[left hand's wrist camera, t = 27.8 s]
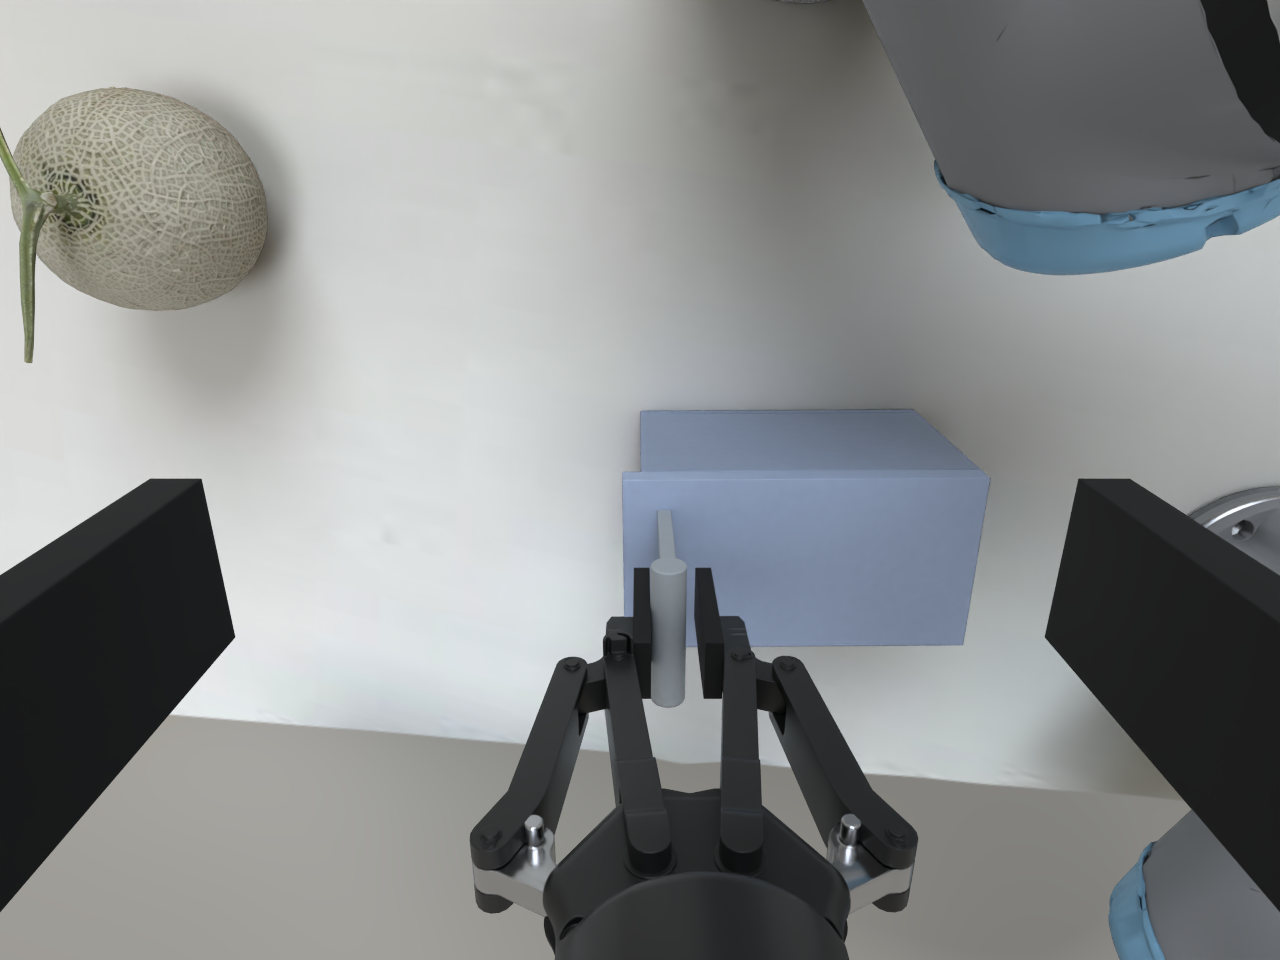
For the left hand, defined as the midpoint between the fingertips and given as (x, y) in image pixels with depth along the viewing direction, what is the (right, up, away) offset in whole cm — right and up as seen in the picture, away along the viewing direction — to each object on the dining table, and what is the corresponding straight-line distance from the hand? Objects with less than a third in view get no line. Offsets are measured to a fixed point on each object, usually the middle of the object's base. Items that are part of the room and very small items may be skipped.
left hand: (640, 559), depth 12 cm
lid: (+8, -3, +30) cm, 32 cm away
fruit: (-25, +18, +34) cm, 46 cm away
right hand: (+2, -4, +27) cm, 27 cm away
